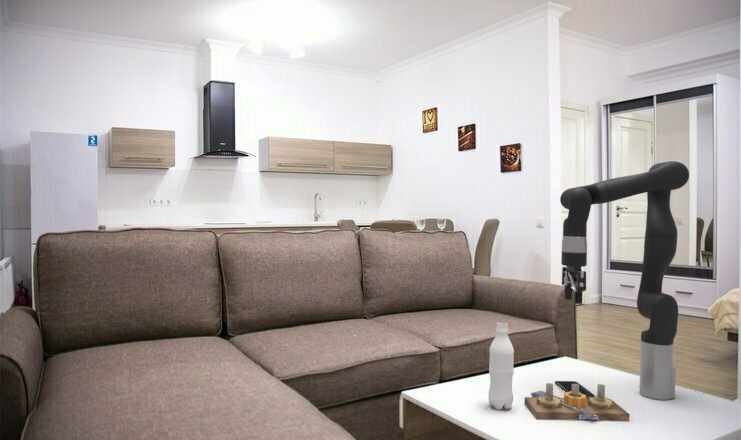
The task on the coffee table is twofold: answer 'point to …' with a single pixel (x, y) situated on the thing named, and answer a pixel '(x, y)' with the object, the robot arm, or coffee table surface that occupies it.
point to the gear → (575, 400)
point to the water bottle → (501, 369)
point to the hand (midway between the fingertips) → (573, 301)
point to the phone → (568, 387)
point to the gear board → (553, 409)
